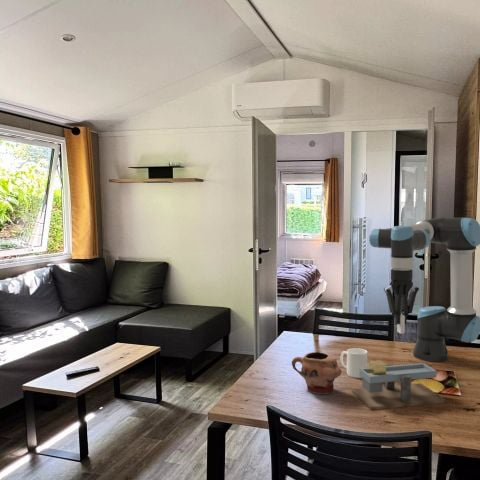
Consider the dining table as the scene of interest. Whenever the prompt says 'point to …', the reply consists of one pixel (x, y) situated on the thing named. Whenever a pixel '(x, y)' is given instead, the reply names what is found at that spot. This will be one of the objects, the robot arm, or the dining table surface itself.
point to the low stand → (398, 395)
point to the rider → (377, 368)
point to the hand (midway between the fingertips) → (400, 332)
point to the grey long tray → (395, 375)
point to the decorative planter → (318, 371)
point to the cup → (354, 361)
